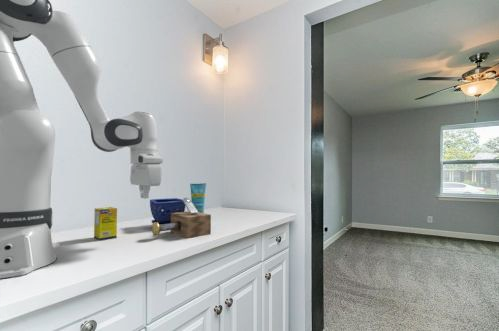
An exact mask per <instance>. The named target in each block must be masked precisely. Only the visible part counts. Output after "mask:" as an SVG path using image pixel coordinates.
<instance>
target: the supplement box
mask: <svg viewBox="0 0 499 331" xmlns="http://www.w3.org/2000/svg"><path fill="white" fill-rule="evenodd" d="M93 217H94V218H93V219H94V220H93V221H94V224H93V225H94V226H93V232H94V234H93V238H94V239H96V240H98V241H105V240H111V239H115V238H116V239H117V237H118V236H117V234H118V233H117V232H118V230H117V228H118V225H117V224H118V208H116V207H113V206H108V207H107V206H105V207H96V208H94V216H93Z"/></svg>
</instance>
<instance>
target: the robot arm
mask: <svg viewBox="0 0 499 331" xmlns="http://www.w3.org/2000/svg"><path fill="white" fill-rule="evenodd" d="M31 36H34V37H35V38H36V39H38V41H40V43H41V44H43V46H44V47H45V48H46V51H47V52H48V54H49V56H50V58H51V59H52V61H53V63H54V64H55V66H56V68H57V69H58V71H59V72H60V74H61V75H62V77H63V79H64V80H65V82H66V83H67V85H68V87H69V89H70V90H71V91H72V93H73V95H74V98H75V99H76V101H77V103H78V105H79V108H80V109H81V111H82V113H83V115H84V117H85V119H86V120H87V123H88V125H89V128H90V129H89V130H90V137H91V142H92V143H93V145H94V146H95V147H96V148H97V149H99V150H100V151H102V152H106V153H112V152H115V151H118V150H120V149H124V148H129V150H130V164H131V165H130V166H131V167H130V176H129V177H130V180H129V181H130V185H133V186H135V185H136V186H138V190H139V194H140V198H141V199H144V200H145V199H149V196H150V191H151V187H157V186H158V187H159V186H160V185H161V183H162V176H163V175H162V174H163V171H162V168H163V167H162V164H163V163H164V162H163V161H164V160H163V157H162V156H161V155H159V153H158V147H157V142H158V127H157V121H156V119H155V117H154V116H153V115H152V114H150V113H147V112H143V111H134V112H132V113H130V114H129V115H125V116H123V117H117V118H112V119H110V118H109V116H108V115H107V114H108V113H107V112H106V111H105V108H104V106H103V104H102V102H101V99H100V98H99V94H98V93H99V92H98V88H99V87H98V85H99V81H100V76H101V66H100V64H99V60H98V58H97V55H96V53H95V51H94V50H93V47H92V46H91V44H90V41H88V39H87V37H86V35H85V34H84V33H83V31H82V30H81V28H80V26H78V24H77V23H76V21H75V20H74V19H73V18H72V16H70V15H69V14H67V13H66V12H63V11H60V10H54V9H53V6H52V3H51V2H50V0H0V279H5V278H6V279H7V278H12V277H13V278H14V277H18V276H24V275H26V274H30V273H32V272H33V271H35V270H37V269H39V268H43V267H45V266H47V265H48V266H49V265H50V264H52V263H54V262H56V260H57V256H56V253H55V249H54V246H53V239H52V233H51V232H52V231H51V230H52V226H53V216H54V215H53V214H54V213H53V208H52V207H51V194H52V193H51V191H52V189H51V188H52V185H51V184H52V173H53V165H54V154H55V142H56V141H55V140H56V129H55V128H54V125H53V123H52V122H51V121H50V120H49V119H48V117H46V116H45V115H44V114H41V111H40V107H39V105H38V102H37V99H36V95H35V93H34V89H33V85H32V84H31V81H30V78H29V77H28V74H27V71H26V69H25V67H24V64H23V62H22V60H21V57H20V55H19V54H18V51H17V48H16V47H15V43H14V42H20V41H24V40H27V39H28V38H29V37H31Z"/></svg>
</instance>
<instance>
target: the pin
mask: <svg viewBox="0 0 499 331" xmlns="http://www.w3.org/2000/svg"><path fill="white" fill-rule="evenodd" d="M180 228H181V222H177V223H170V224H163V225H159V223H158V222H155V223H152V224H151V233H152V235H153V237H154V236H159V235H160V233H161V232H168V231H171V230H174V229H180Z"/></svg>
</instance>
